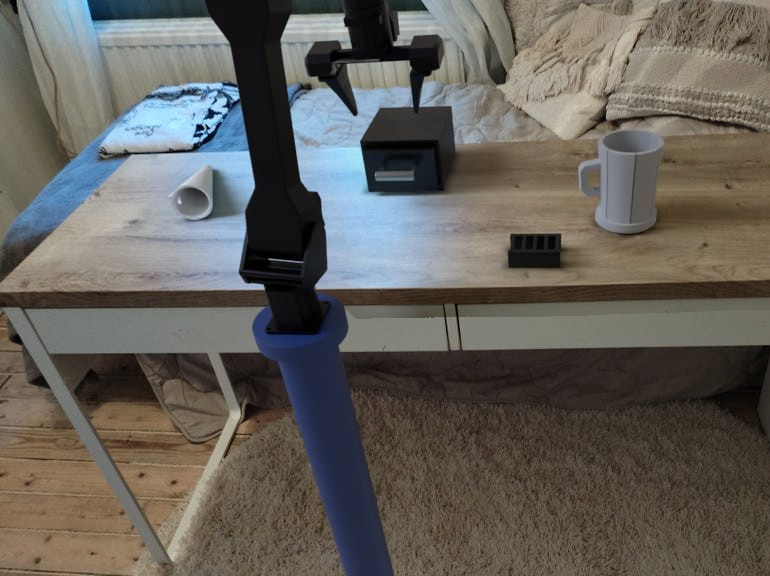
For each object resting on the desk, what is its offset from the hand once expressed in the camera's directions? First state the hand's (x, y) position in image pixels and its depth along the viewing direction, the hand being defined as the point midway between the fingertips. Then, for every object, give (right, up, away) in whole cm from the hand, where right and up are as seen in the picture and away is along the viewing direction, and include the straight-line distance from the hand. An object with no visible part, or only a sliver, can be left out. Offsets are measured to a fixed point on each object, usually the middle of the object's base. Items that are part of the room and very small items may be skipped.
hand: (386, 113), depth 104 cm
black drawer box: (+3, -4, +17) cm, 18 cm away
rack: (+21, -22, -7) cm, 32 cm away
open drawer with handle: (+2, -6, +13) cm, 15 cm away
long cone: (-32, -8, +16) cm, 37 cm away
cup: (+34, -16, -1) cm, 38 cm away
